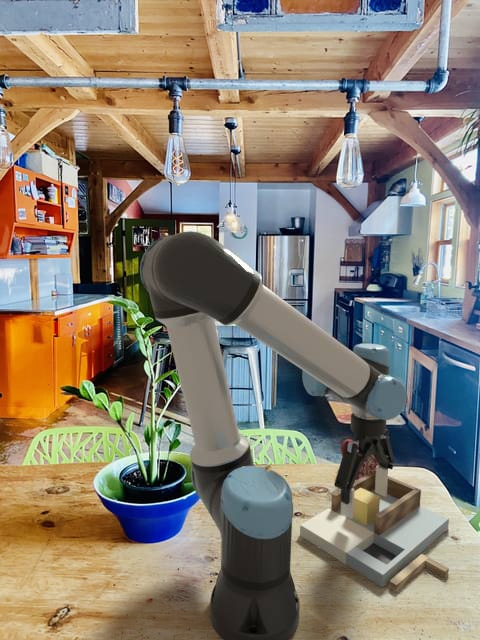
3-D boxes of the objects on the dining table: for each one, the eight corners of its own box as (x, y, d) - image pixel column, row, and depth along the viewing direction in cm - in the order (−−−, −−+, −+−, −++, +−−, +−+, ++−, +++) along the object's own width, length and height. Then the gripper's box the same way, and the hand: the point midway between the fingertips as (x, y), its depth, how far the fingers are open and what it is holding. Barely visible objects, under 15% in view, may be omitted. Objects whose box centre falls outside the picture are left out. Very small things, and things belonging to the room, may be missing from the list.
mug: (380, 473, 123) (382, 428, 121) (390, 489, 114) (393, 441, 112) (336, 472, 123) (338, 427, 121) (343, 488, 114) (345, 440, 112)
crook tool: (417, 605, 75) (417, 598, 75) (389, 587, 79) (389, 580, 79) (448, 575, 82) (448, 568, 82) (421, 560, 86) (421, 553, 86)
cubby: (379, 535, 90) (380, 517, 90) (331, 509, 99) (331, 493, 99) (419, 505, 102) (421, 489, 101) (373, 485, 111) (374, 470, 111)
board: (382, 587, 79) (383, 574, 78) (299, 535, 94) (300, 524, 93) (448, 528, 97) (449, 518, 97) (370, 492, 112) (370, 484, 112)
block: (366, 525, 93) (367, 504, 93) (347, 515, 97) (348, 494, 97) (378, 517, 97) (380, 496, 96) (359, 507, 100) (360, 487, 100)
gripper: (349, 433, 83) (346, 534, 86) (412, 406, 99) (407, 492, 102) (319, 422, 89) (316, 517, 91) (383, 398, 105) (379, 480, 108)
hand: (364, 504), depth 97 cm, fingers open, 13 cm apart
